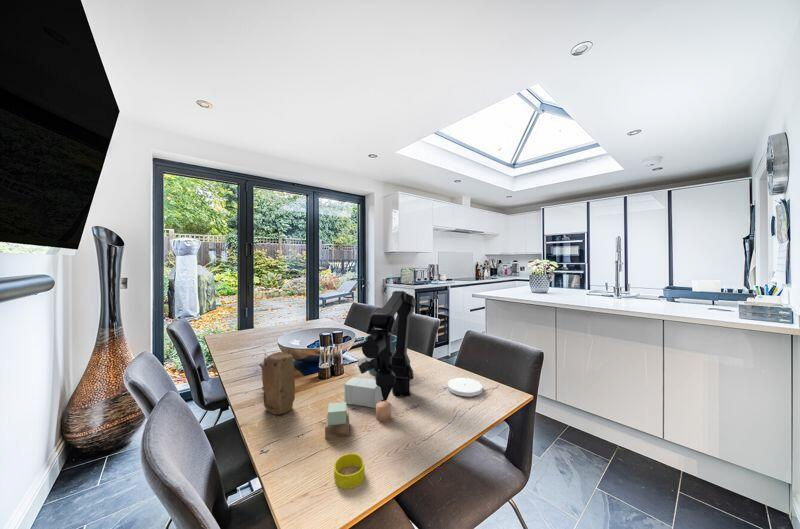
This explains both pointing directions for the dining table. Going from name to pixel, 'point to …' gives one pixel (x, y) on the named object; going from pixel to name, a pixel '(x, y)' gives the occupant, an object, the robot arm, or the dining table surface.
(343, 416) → the top block
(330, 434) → the bottom block
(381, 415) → the brown oval piece
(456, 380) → the plastic lid
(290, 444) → the dining table surface
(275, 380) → the block
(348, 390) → the supplement box
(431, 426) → the dining table surface
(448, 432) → the dining table surface
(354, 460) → the bracelet
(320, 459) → the dining table surface
